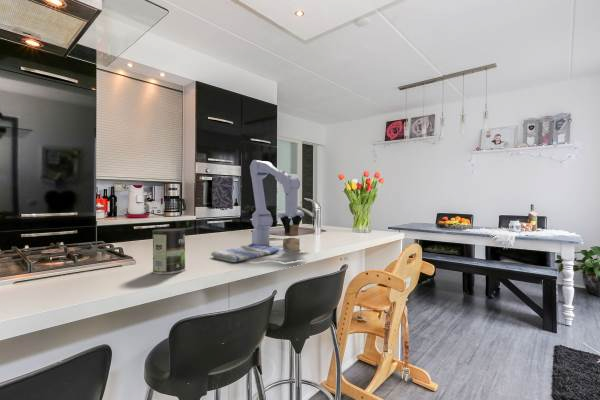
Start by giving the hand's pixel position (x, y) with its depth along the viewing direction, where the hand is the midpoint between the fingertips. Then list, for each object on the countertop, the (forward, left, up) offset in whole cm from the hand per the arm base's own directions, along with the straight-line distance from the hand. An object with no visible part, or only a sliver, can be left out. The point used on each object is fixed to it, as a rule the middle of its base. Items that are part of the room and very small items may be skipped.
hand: (291, 232), depth 142 cm
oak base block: (0, 0, -8) cm, 8 cm away
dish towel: (-2, -23, -8) cm, 25 cm away
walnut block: (0, 0, -1) cm, 1 cm away
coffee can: (+2, -56, -9) cm, 57 cm away
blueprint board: (-4, -4, -9) cm, 10 cm away
